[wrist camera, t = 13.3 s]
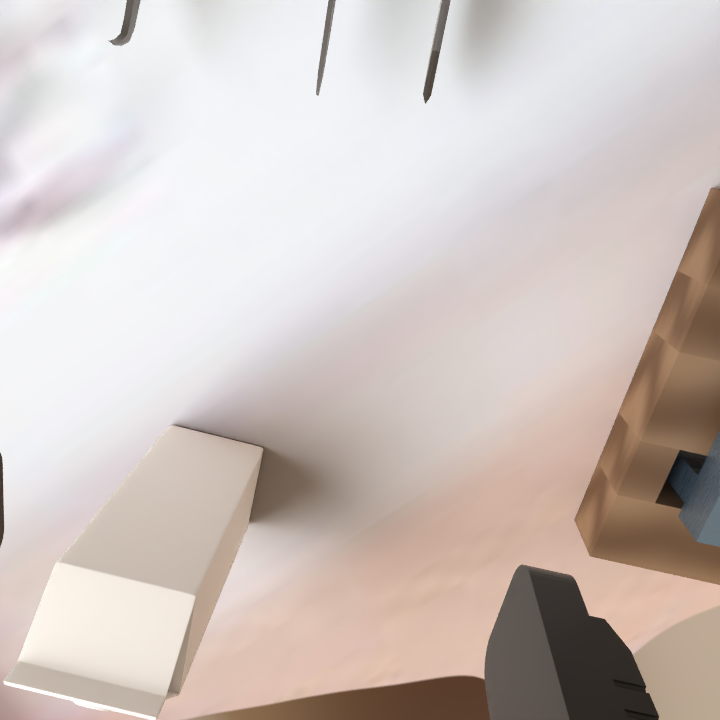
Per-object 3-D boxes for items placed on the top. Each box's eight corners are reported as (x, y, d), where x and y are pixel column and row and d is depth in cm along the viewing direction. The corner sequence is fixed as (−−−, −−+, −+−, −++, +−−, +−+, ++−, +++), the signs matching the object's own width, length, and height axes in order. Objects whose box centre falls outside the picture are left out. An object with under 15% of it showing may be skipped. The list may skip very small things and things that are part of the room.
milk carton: (170, 422, 43) (3, 624, 25) (264, 446, 43) (165, 663, 25) (159, 502, 46) (2, 735, 28) (249, 524, 46) (148, 770, 28)
